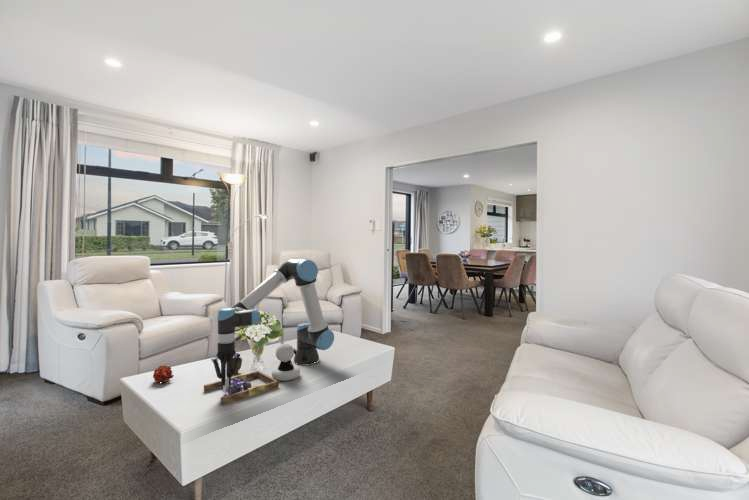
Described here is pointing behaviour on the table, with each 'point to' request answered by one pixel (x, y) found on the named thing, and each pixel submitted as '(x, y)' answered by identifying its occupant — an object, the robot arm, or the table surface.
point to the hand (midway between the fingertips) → (225, 391)
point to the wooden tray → (251, 391)
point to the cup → (237, 365)
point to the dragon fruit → (162, 374)
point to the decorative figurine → (285, 363)
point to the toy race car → (238, 386)
